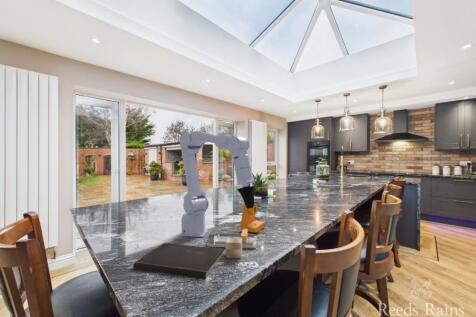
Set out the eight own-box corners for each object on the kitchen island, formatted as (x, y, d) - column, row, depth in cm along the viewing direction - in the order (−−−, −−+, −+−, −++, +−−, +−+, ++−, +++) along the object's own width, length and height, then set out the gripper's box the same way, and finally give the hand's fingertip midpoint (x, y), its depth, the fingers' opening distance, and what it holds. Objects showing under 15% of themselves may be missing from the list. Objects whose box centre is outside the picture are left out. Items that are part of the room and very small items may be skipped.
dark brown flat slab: (164, 249, 81) (164, 242, 81) (224, 255, 76) (224, 249, 76) (133, 270, 66) (133, 263, 66) (205, 281, 60) (205, 272, 60)
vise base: (206, 246, 82) (206, 235, 82) (213, 236, 92) (212, 227, 92) (255, 248, 80) (255, 237, 80) (256, 238, 90) (256, 228, 90)
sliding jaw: (240, 243, 82) (240, 235, 82) (242, 235, 90) (242, 228, 90) (246, 243, 81) (246, 236, 81) (247, 236, 89) (247, 229, 89)
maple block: (225, 257, 73) (225, 242, 73) (227, 252, 77) (227, 238, 77) (241, 258, 73) (240, 242, 73) (242, 253, 77) (242, 238, 76)
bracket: (255, 234, 95) (255, 206, 95) (240, 232, 98) (240, 204, 98) (264, 227, 104) (264, 201, 104) (250, 225, 108) (250, 200, 107)
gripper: (252, 164, 72) (261, 206, 70) (254, 168, 87) (262, 203, 85) (231, 169, 73) (240, 211, 71) (237, 172, 87) (244, 207, 85)
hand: (250, 207), depth 78 cm, fingers open, 7 cm apart
